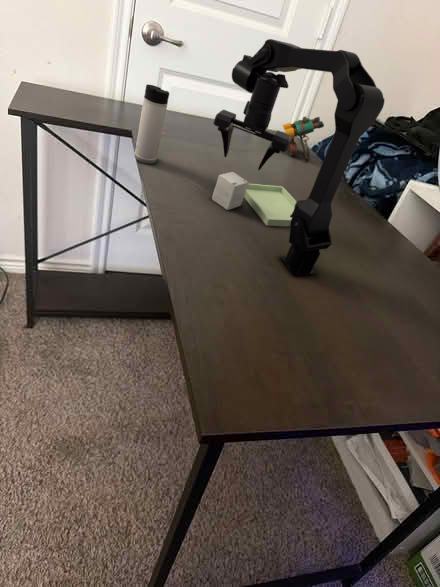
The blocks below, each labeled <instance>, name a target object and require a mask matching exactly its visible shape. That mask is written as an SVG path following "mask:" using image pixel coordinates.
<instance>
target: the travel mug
mask: <svg viewBox="0 0 440 587" xmlns="http://www.w3.org/2000/svg"><path fill="white" fill-rule="evenodd" d="M169 97H170V92H169V91H168V90H165V89H162V87H159V86H157V85H154V84H148V83H147V84H146V85H145V90H144V96H143V100H142V101H143V102H142V106H141V113H140V118H139V125H138V131H137V138H136V144H135V151H134V155H133V156H134V159H135V160H137V161H138V162H140V163H142V164H146V165H152V164H155V163H157V159H158V154H159V149H160V144H161V139H162V134H163V129H164V125H165V124H164V123H165V118H166V113H167V109H168V104H169Z"/></svg>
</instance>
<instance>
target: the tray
mask: <svg viewBox="0 0 440 587" xmlns="http://www.w3.org/2000/svg"><path fill="white" fill-rule="evenodd" d="M243 199H245V201H246V202H247V203H248V204H249V205H250V207H251V208H252V210H254V212H255V214H257V216H258V218H260V220H261V221H262V222H263V223H264V225H265V226H267V227H290V223H291V219H292V217H290V216H291V214H292V213H293V211H294V207H295V204H296V202H297V200H296V199H295V198H294V197H293V196H292V195H291V194H290V192H288V191H287V190H286V188H285V187H284V186H282V185H281V186H280V185H272V184H271V185H270V184H257V183H249V184H248V187H247V189H246V192H245V195H244V198H243Z"/></svg>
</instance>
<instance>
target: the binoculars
mask: <svg viewBox="0 0 440 587" xmlns="http://www.w3.org/2000/svg"><path fill="white" fill-rule="evenodd" d="M324 126H325V124H324V122H323V121H322V120H321V117H320V116H317V117H314V118H309V117H307V116H303V117H302V119H298V120H295V121H293V123H291V122H287V123H285V124H284V123H283V124H282V128H283V130H284V133H286V134H288V135H290V136H291V141H290V143H289V146H288V148H287V150H288V152H289V156H294V155H297V154H298V144H297V142H296V141H295V137H298V138H299V140H300V145H301V148H302V152H303V154H304V155H303V156H304V157H305V159H306V160H309V159H310V149H309V144H308V141H309V139H310V138H309V136H308V134H311V133H313V132H314V131H315V130H317V129H322V128H325V127H324Z"/></svg>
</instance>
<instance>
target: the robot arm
mask: <svg viewBox="0 0 440 587" xmlns="http://www.w3.org/2000/svg"><path fill="white" fill-rule="evenodd" d="M298 70H308V71H309V70H310V71H317V72H325V73H330V74H331V75H332V90H333V92H334V95H335V97H336V99H337V102H336V106H335V111H334V116H333V117H334V126H335V128H334V130H335V131H334V133H333V136H332V138H331V141H330V143H329V145H328V148H327V150H326V153H325V156H324V158H323V160H322V163H321V165H320V169H319V170H318V173H317V175H316V178H315V180H314V182H313V186H312V188H311V191H310V193H309V195H308V197H307V198H306V199H302V200H296V204H295V207H294V211H293V213H292V214H291V216H290V217H292V219H291V223H290V226H289V227H290V230H289V237H288V238H289V239H288V243H289V244H290V247H289V249H288V251H287V253H286V256H281V257H280V260H281V262H282V263H283V264H284V266H285V267H286V269H287V270H288V271H289V272H290V273H291V275H293V276H314V275H316V271H314V269H313V268H314V267H315V265H316V263H317V261H318V259H319V257H320V255H321V252H320V250H328V248H330V247H331V246H332V245H333V242H332V237H331V231H330V225H331V221H332V218H333V210H332V202H333V200H334V197H335V195H336V193H337V191H338V188H339V186H340V184H341V182H342V178H343V177H344V174H345V173H346V170H347V168H348V165H349V163H350V161H351V159H352V156H353V154H354V151H355V149H356V148H357V145H358V142H359V141H360V138H362V136H363V135H364V134H365V133H366V132H367V131H368V130H369V129H370V128H371V127H373V125H374V123H375V122H376V120H377V119H378V117H379V115H380V114H381V113H382V111H383V109H384V105H385V98H384V94H383V91H382V90H381V89H380V88H379V87H377V85H376V83H375V80H374V79H373V78H372V76H371V74H369V72H368V71H367V70H366V68H365V67H364V66H363V64H362V62H361V59H360V57H359V56H358V54H357V53H355V52H352V51H347V50H344V49H339V50H328V49H316V48H306V47H305V48H304V47H301V46H299V45H296V44H293V43H289V42H286V41H281V40H277V39H272V38H268V39H266V40H265V41H264V44H262V46H261V48H259V49H258V50H257V52H256V53H255V54H254V55H253V56H251V55H247V54H244V55H243V56H242V60H239V61H238V62H236V64H235V65H234V67H233V68H232V70H231V79H232V82H233V83H234V84H235V85H237V86H238V87H239V88H241V89H242V90H245V91H246V92H247V93H249V94H251V96H250V100H247V101H246V104H245V106H244V108H243V112H242V114H243V115H245V116H244V119H243V121H242V120H240V119H237V114H236V113H234V112H231V111H229V110H226V109H222V110H220V111H218V113H216V115H215V116H214V119H213V125H214V126H215V127H217V131H219V132H220V134H221V139H222V145H223V157H224V158H227V156H228V154H229V152H230V146H231V141H232V135H233V132H234V129H237V130H240V131H243V132H245V133H248V134H251V135H253V136H256V137H258V138H261V139H263V140H266V141H268V142H270V144H269V146H268V147H267V149H266V151H265V153H264V155H263V158H262V159H261V162H260V163H259V165H258V168H257V171H260V170H261V169H262V168H263V167H264V165H265V164H266V163H267V161H268V160H269V159H270V158H271V157H272V156H273V155H274V154H280V153H281V152H283V153H286V152H287V150H288V146H289V143H290V141H291V136H290V135H288V134H286V132H283V131H280V130H276V132H275V133H273V132H271V131H268V130H267V129H268V128H269V125H270V122H271V120H272V113H273V110H274V107H275V104H276V101H277V99H278V96H279V94H280V93H279V92H280V90H281V88H282V89H288V88H289V83H288V80H287V79H286V75H285V74H282V73H291V72H296V71H298ZM278 72H280V73H278ZM276 73H277V74H276Z"/></svg>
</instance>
